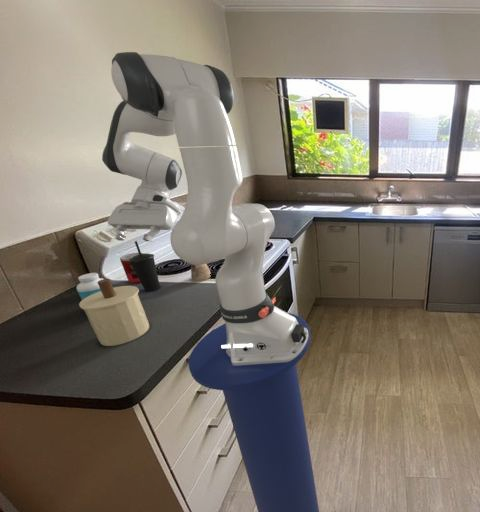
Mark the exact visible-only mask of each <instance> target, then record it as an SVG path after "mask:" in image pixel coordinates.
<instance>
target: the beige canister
mask: <svg viewBox="0 0 480 512" xmlns="http://www.w3.org/2000/svg"><path fill="white" fill-rule="evenodd" d="M84 312H85V315H86V317H87V319H88V321H89V323H90V326H91V327H92V330H93V332H94V333H95V336H96V338H97V341H98V342H99V343H100V345H102V346H105V347H113V346H120V345H123V344H127V343H130V342H131V341H134V340H136V339H138V338H140V337H141V336H143V335H144V334H146V333H147V332H148V331H149V329H150V323H149V320H148V317H147V315H146V311H145V309H144V307H143V303H142V301H141V299H140V297H139V293H138V294H137V295H136V296H135V297H133V298H132V299H130V300H128V301H126V302H123V303H121V304H118V305H115V306H112V307H108V308H103V309H97V310H84Z"/></svg>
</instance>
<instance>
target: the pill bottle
mask: <svg viewBox="0 0 480 512" xmlns="http://www.w3.org/2000/svg"><path fill="white" fill-rule="evenodd" d="M99 276H100V275H99V273H98V272H89V273H85V274H82V275H80V276H78V278H77V279H78V281H79V283H78V284H77V285H76V291H77V293H78V295H79V297H80V299H81V301H82V300H83V299H85V298H86V297H88V296H90V295H92V294H94V293H97V292H100V291H101V290H100V287H99V285H98V283H97V282H98V281H100V280H103V279H104V278H102V277H99Z"/></svg>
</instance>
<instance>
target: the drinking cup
mask: <svg viewBox="0 0 480 512" xmlns="http://www.w3.org/2000/svg"><path fill="white" fill-rule="evenodd" d="M134 244H135V247H136V249H137V253H139V254H137V255H135V256H133V257H131V258H130V259H129V262H131V264H132V266H133V268H134V270H135V272H136V274H137V276H138V278H139V280H140V282H141V283H140V284H141V286H142V288H143V289H144V292H147V293H150V292H154V291H157V290H159V289H160V288H161V284H160V280H159V274H158V271H157V267H156V262H155V254H153V253H147V252H142V251H141V249H140V246H139V243H138V241H137V240H135V241H134ZM141 253H142V254H141Z"/></svg>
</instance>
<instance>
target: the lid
mask: <svg viewBox="0 0 480 512" xmlns="http://www.w3.org/2000/svg"><path fill="white" fill-rule="evenodd" d="M102 279H103V280H100V281H98V282H97V283H98V285H99V287H100V290H101V291H100V292H97V293H94V294H92V295H90V296H88V297H86V298H85V299H83V300H81V301H80V302H79V304H78V305H79V308H80V309H82V310H83V311H85V310H97V309H103V308H108V307H112V306H115V305H118V304H121V303H123V302H126V301H128V300H130V299H132V298H133V297H135V296H136V295H137V294H138V295H139V292H140V290H139V288H138V287H137V286H134V285H121V286H115V287H113V284H112V282H111V278H102Z"/></svg>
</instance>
